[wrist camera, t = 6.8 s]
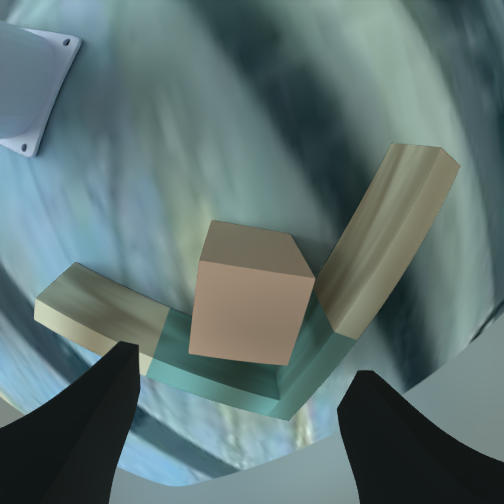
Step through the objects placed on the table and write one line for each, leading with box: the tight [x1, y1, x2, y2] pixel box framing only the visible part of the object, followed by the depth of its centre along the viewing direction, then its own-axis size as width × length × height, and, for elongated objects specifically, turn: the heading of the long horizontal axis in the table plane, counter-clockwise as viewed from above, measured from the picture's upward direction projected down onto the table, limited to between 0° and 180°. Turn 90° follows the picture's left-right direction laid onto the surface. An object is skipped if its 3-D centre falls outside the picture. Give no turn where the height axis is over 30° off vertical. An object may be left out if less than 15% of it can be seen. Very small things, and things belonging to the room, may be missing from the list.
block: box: [189, 220, 316, 365], centre depth 15 cm, size 4×4×6 cm
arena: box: [34, 143, 460, 421], centre depth 14 cm, size 16×17×5 cm
